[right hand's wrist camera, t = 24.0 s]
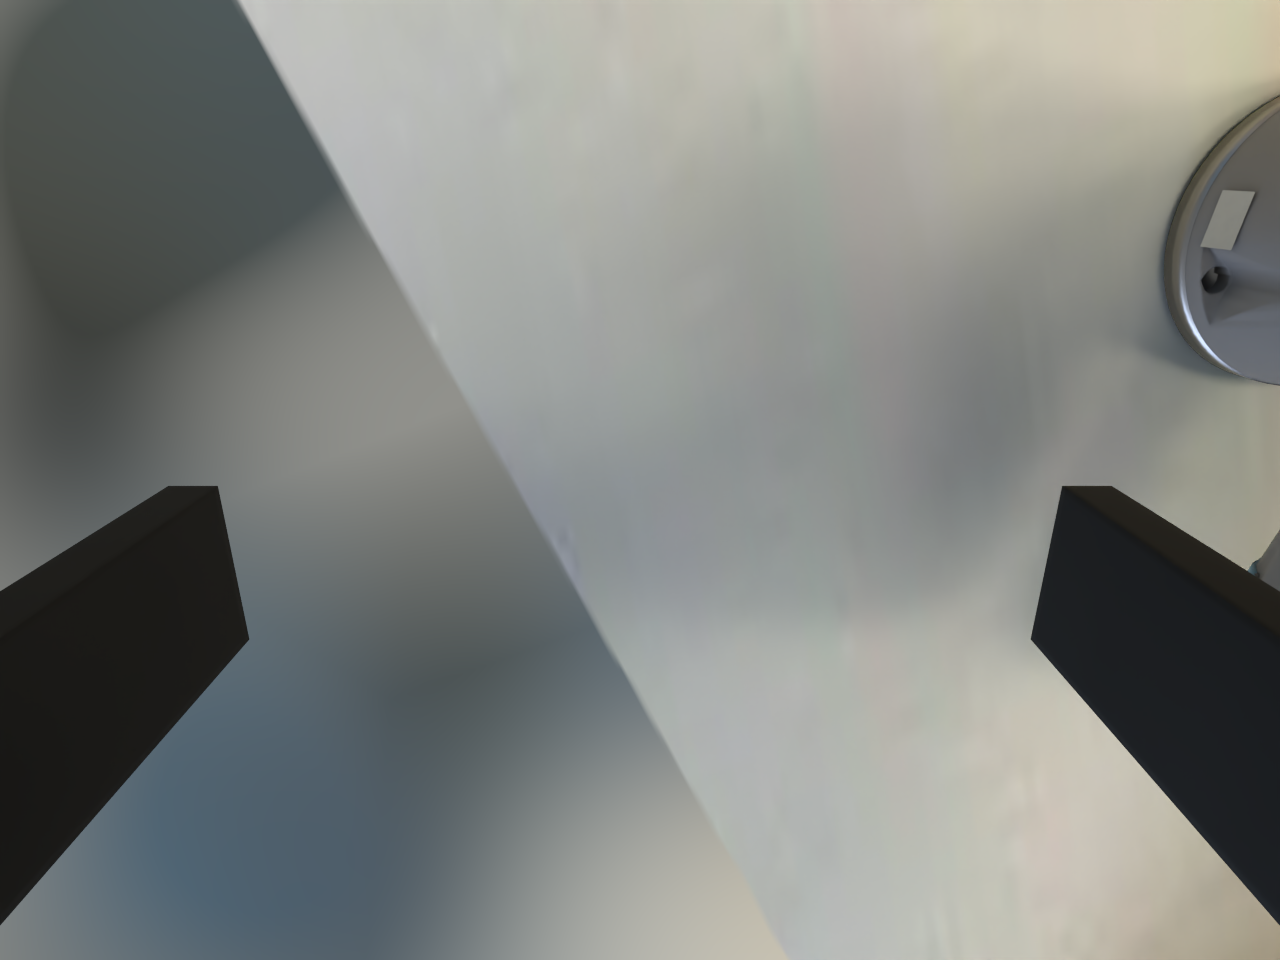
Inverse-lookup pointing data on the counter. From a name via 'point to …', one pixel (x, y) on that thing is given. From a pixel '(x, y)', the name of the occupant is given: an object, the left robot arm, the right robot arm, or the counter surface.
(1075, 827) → the counter surface
